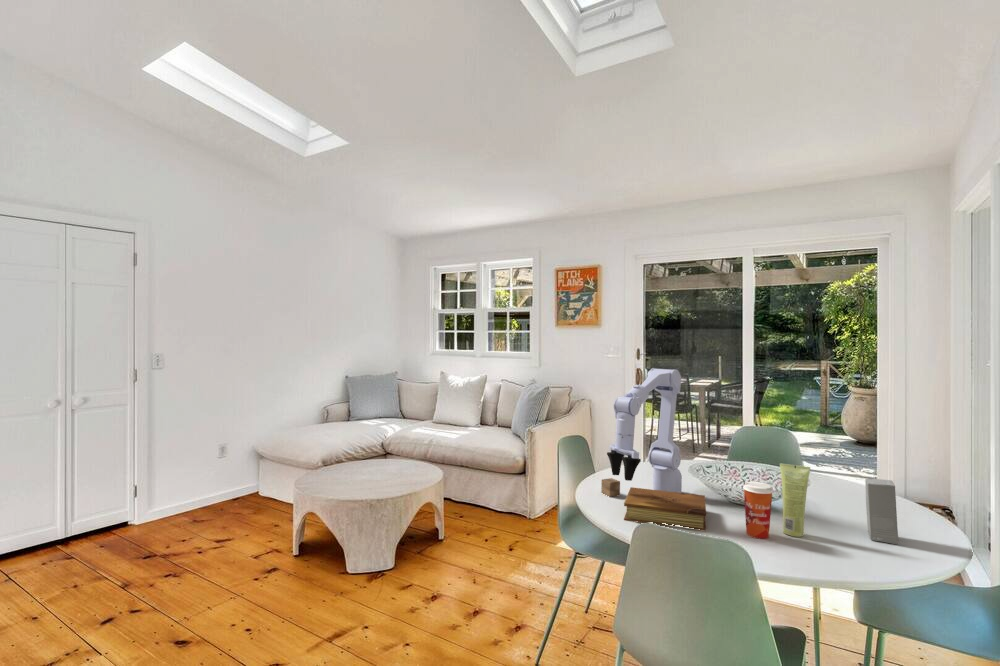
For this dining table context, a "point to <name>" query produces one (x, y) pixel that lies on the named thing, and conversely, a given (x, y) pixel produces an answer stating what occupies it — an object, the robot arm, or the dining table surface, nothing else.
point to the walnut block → (610, 487)
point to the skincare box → (881, 510)
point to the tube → (794, 497)
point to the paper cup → (757, 508)
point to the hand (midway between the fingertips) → (621, 477)
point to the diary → (666, 508)
